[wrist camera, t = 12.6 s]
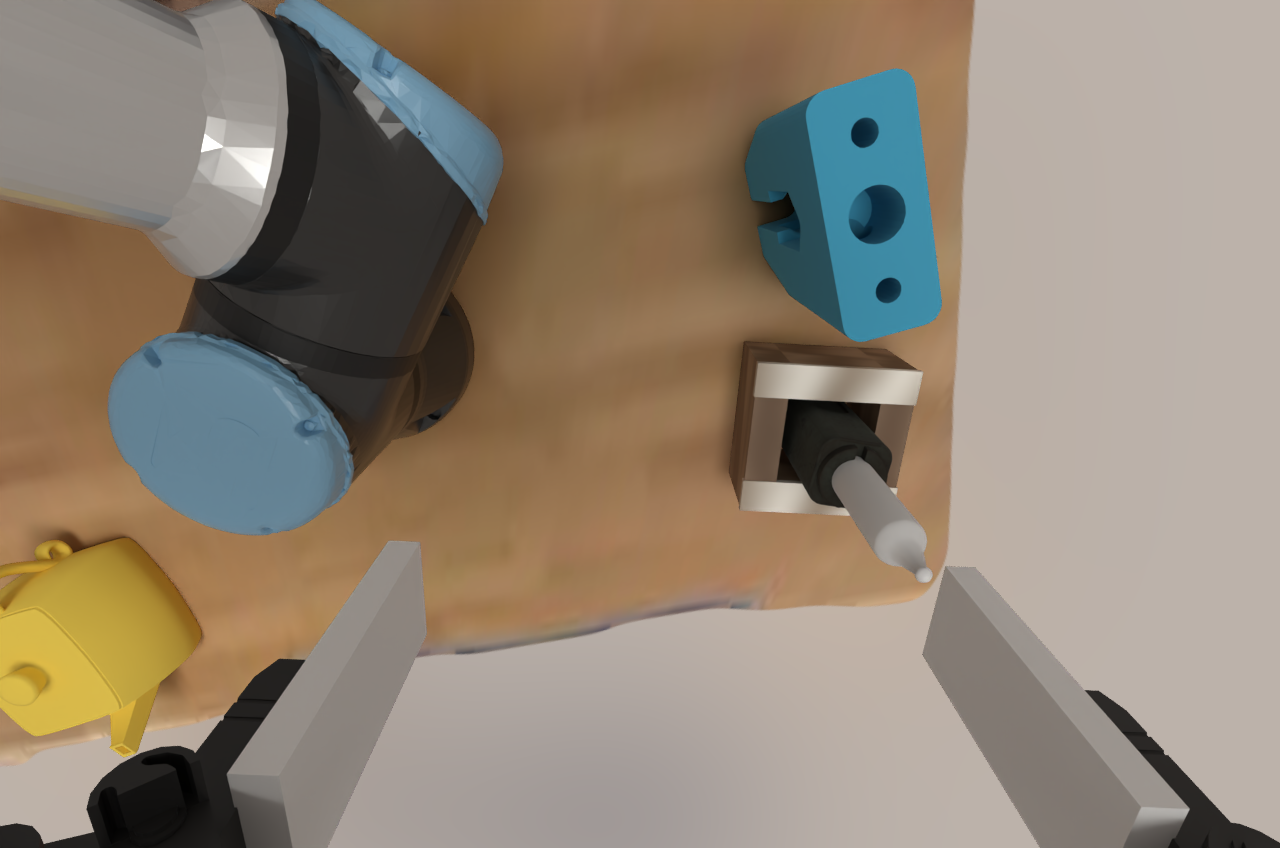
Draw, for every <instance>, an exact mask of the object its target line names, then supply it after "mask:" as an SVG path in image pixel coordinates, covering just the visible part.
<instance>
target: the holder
mask: <svg viewBox="0 0 1280 848" xmlns="http://www.w3.org/2000/svg"><path fill="white" fill-rule="evenodd" d="M922 376H923V371H921V370H917V369H916V368H914V367H913V366H911V365H909V364H908V363H906V362H905V361H903V360H902V359H900V358H899V357H897V356H896V355H894V354H893V353H891V352H890V351H888V350H887V349H872V348H853V347H835V346H817V345H798V344H780V343H762V342H744V347H743V355H742V364H741V372H740V381H739V390H738V398H737V407H736V416H735V424H734V433H733V441H732V450H731V459H730V467H729V474H730V477H731V480H732V483H733V486H734V490H735V493H736V496H737V499H738V502H739V510H743V511H763V512H784V513H805V514H826V515H847V516H850V514H849V513H848V511H847V510H846V508H837V507H833V506H826V505H820V504H817V503H815V502H814V501H812V500H811V498H810V497H809V495H808V493H807V491H806V490H805V488H804V486H803V484H802V482H801V481H800V479H799V477H798V475H797V473H796V472H795V470H794V468H793V466H792V464H791V463H790V461H789V459H788V457H787V455H786V454H785V452H784V450H783V449H781V445H782V439H783V432H784V425H785V418H786V411H787V404H788V399H802V400H821V401H840V402H847V405H848V406H849V407H850V408H851V410H852V411H853V412H854V413H855V414H856V415H857V416H858V417H859V418H860V419H861V420H862V421H863V422H864V423H865V424H866V425H867V426H868V427H869V428H870V429H871V430H872V431H873V432H874V433H875V434H876V436H877V437H878V438H879V439H880V440H881V441H882V442H883V443H884V444H885V445H886V446H887V447H888V448H889V449H890V451H891V453H892V463H891V466H890V469H889V472H888V478H887V483H886V485H887V486H888V487H889V488H890V489H891V491H892V492H893V493H894V494H895V495H896V494H897V489H898V488H897V487H896V485H897V481H898V476H899V472H900V467H901V462H902V458H903V453H904V449H905V444H906V440H907V435H908V430H909V426H910V421H911V417H912V412H913V408H914V405H916V403H917V398H918V394H919V389H920V385H921V380H922Z"/></svg>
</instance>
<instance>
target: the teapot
mask: <svg viewBox="0 0 1280 848" xmlns="http://www.w3.org/2000/svg"><path fill="white" fill-rule="evenodd" d="M49 551H50V552H51V553H52V554H53V559H52V558H51V556H50V554H49ZM34 554H35V557H36V559H37V560H38V561H27V562H17V563H10V564H5V565H2V566H0V578H2V577H5V576H9V575H14V574H22V573H24V574H23V575H21V576H20V577H18V578H16V579H15V580H13V581H12V582H11V583H9V584H8V585H6V586H5V587H4V588H2V589H1V590H0V708H1V709H2V710H3V711H4V712H5V713H6V714H7V715H9V716H10V717H11V718H12V719H13V720H14V721H15V722H16V723H17V724H18V725H19V726H21V727H22V728H23V729H24V730H26V731H27V732H28V733H30V734H32V735H34V736H42V735H46V734H50V733H54V732H57V731H61V730H64V729H67V728H70V727H74V726H77V725H80V724H83V723H86V722H89V721H92V720H95V719H98V718H101V717H104V716H106V715H109V714H110V720H111V746H110V748H111V749H112V750H114V751H115V752H117V753H118V754H120V755H121V756H122V757H127V756H130V755H132V754H135V753H136V752H137V751H138V748H139V745H140V742H141V739H142V736H143V733H144V730H145V727H146V724H147V721H148V718H149V715H150V712H151V709H152V706H153V703H154V700H155V697H156V694H157V691H158V688H159V685H160V682H161V681H162V680H163V679H165V678H166V677H167V676H168V675H170V674H171V673H172V672H173V671H174V670H175V669H176V668H178V667H179V666H180V665H181V664H182V663H183V662H184V661H185V660H186V659H187V658H188V657H189V656H190V655H191V654H192V653H193V651H194V650H195V648H196V646H197V645H198V642H199V640H200V638H201V635H202V632H201V629H200V626H199V624H198V623H197V621H196V619H195V617H194V615H193V614H192V612H191V611H190V609H189V607H188V606H187V604H186V602H185V601H184V599H183V598H182V596H181V595H180V593H179V592H178V590H177V589H176V587H175V586H174V585H173V583H172V582H171V581H170V579H169V578H168V577H167V576H166V575H165V573H164V572H163V571H162V570H161V569H160V568H159V566H158V565H157V564H156V563H155V562H154V561H153V560H152V558H151V557H150V556H149V555H148V554H147V553H146V552H145V551H144V550H143V549H142V548H141V547H140V546H139V545H138V544H137V543H136V542H135V541H133V540H132V539H130V538H120V539H116V540H112V541H109V542H105V543H102V544H99V545H96V546H93V547H90V548H87V549H84V550H81V551H78V552H75V553H73V551H72V549H71V547H70V546H69V545H68V544H66V543H65V542H63V541H60V540H50V541H46V542H43V543H42V544H40V545H39V546H38V547H37V548H36V550H35V553H34Z"/></svg>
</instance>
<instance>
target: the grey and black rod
mask: <svg viewBox="0 0 1280 848" xmlns="http://www.w3.org/2000/svg"><path fill="white" fill-rule="evenodd" d="M781 447H782V448H783V450H784V452H785V454H786V455H787V457H788V459H789V461H790V463H791V464H792V466H793V468H794V470H795V472H796V473H797V475H798V477H799V479H800V481H801V482H802V484H803V486H804V488H805V490H806V491H807V493H808V495H809V497H810V498H811V500H812V501H814V502H815V503H817V504H820V505H826V506H833V507H837V508H846V510H847V511H848V513H849V514H850V516H851V517H852V519H853V520H854V522H855V523H856V525H857V527H858V528H859V530H860V531H861V533H862V534H863V536H864V537H865V539H866V540H867V542H868V544H869V545H870V547H871V548H872V550H873V551H874V553H875V554H876V556H877V557H878V558H879V559H880V560H881V561H883V562H884V563H886V564H889V565H892V566H902V567H904V568H905V569H907V570H909V571H910V572H912V573H914V574H915V578H916V579H917V580H918V581H919V582H922V583H926V582H929V581H930V580H931V578H932V576H933V575H932V571H931V570H930V569H929V568H928V567H926V562H925V557H924V551H925V548H926V544H927V537H926V534H925V531H924V529H923V528H922V526H921V525H920V524H919V523H918V522H917V520H916V519H915V518H914V517H913V516H912V514H911V513H910V512H909V511H908V510H907V508H906V507H905V506H904V505H903V504H902V502H901V501H900V500H899V499H898V498H897V496H896V495H895V494H894V493H893V492H892V491H891V489H890V488H889V487H888V486H887V485H886V483H887V478H888V472H889V469H890V466H891V463H892V453H891V451H890V449H889V448H888V447H887V446H886V445H885V444H884V443H883V442H882V441H881V440H880V439H879V438H878V437H877V436H876V434H875V433H874V432H873V431H872V430H871V429H870V428H869V427H868V426H867V425H866V424H865V423H864V422H863V421H862V420H861V419H860V418H859V417H858V416H857V415H856V414H855V413H854V412H853V411H852V410H851V408H850V407H849V406H848V405H847V404H846V403H845V402H840V401H821V400H802V399H788V404H787V411H786V418H785V425H784V432H783V439H782V445H781Z"/></svg>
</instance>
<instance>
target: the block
mask: <svg viewBox="0 0 1280 848" xmlns="http://www.w3.org/2000/svg"><path fill="white" fill-rule="evenodd" d="M745 172H746V177H747V182H748V186H749V191H750V195H751V199H752V200H755V201H763V202H770V203H771V202H774V201H777V200H781V199H783V198H784V197H785V195H786V193H788V194H789V196H790V199H791V201H792V204H793V206H794V208H795V211H794V212H793V214H791V215H790V216H789V217H787V218H784V219H780V220H777V221H774V222H770V223H767V224H764V225H760V226H758V227H757V228H758V233H759V237H760V242H761V247H762V251H763V255H764V258H765V259H766V261H767V262H768V264H769V265H770V267H771V268H772V270H773V271H774V273H775V274H776V276H777V277H778V279H779V280H780V282H781V283H782V285H783V286H784V288H785V289H786V291H787V292H788V294H789V295H790V296H791V297H793V298H794V299H796V300H797V301H798V302H800V303H801V304H803V305H804V306H805V307H807V308H808V309H810V310H811V311H812V312H814V313H815V314H817V315H818V316H819V317H821V318H822V319H824V320H825V321H826V322H828V323H829V324H831V325H832V326H833V327H835V328H836V329H837V330H839V331H840V332H842V333H843V334H844V335H846V336H847V337H849V338H850V339H852V340H854V341H858V342H863V341H868V340H872V339H875V338H879V337H882V336H886V335H890V334H893V333H897V332H901V331H904V330H908V329H911V328H915V327H919V326H922V325H925V324H928V323H930V322H931V321H933V320H934V319H935V318H936V317H937V316H938V314H939V312H940V310H941V306H942V299H941V291H940V283H939V275H938V267H937V259H936V251H935V242H934V234H933V226H932V218H931V210H930V202H929V193H928V185H927V177H926V169H925V161H924V153H923V145H922V136H921V128H920V120H919V112H918V104H917V96H916V88H915V83H914V80H913V78H912V77H911V75H910V74H909V73H908V72H906V71H904V70H902V69H890V70H887V71H884V72H881V73H878V74H874V75H871V76H868V77H865V78H862V79H858V80H855V81H852V82H849V83H846V84H843V85H839V86H836V87H833V88H830V89H827V90H824V91H822V92H819V93H817V94H815V95H813V96H811V97H809V98H807V99H806V100H804V101H802V102H800V103H798V104H796V105H794V106H792V107H790V108H788V109H786V110H784V111H782V112H780V113H778V114H776V115H774V116H772V117H770V118H768V119H766V120H764V121H762V122H761V123H760V124H759V125H758V127H757V129H756V131H755V134H754V137H753V141H752V144H751V147H750V150H749V153H748V156H747V159H746V162H745Z"/></svg>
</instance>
